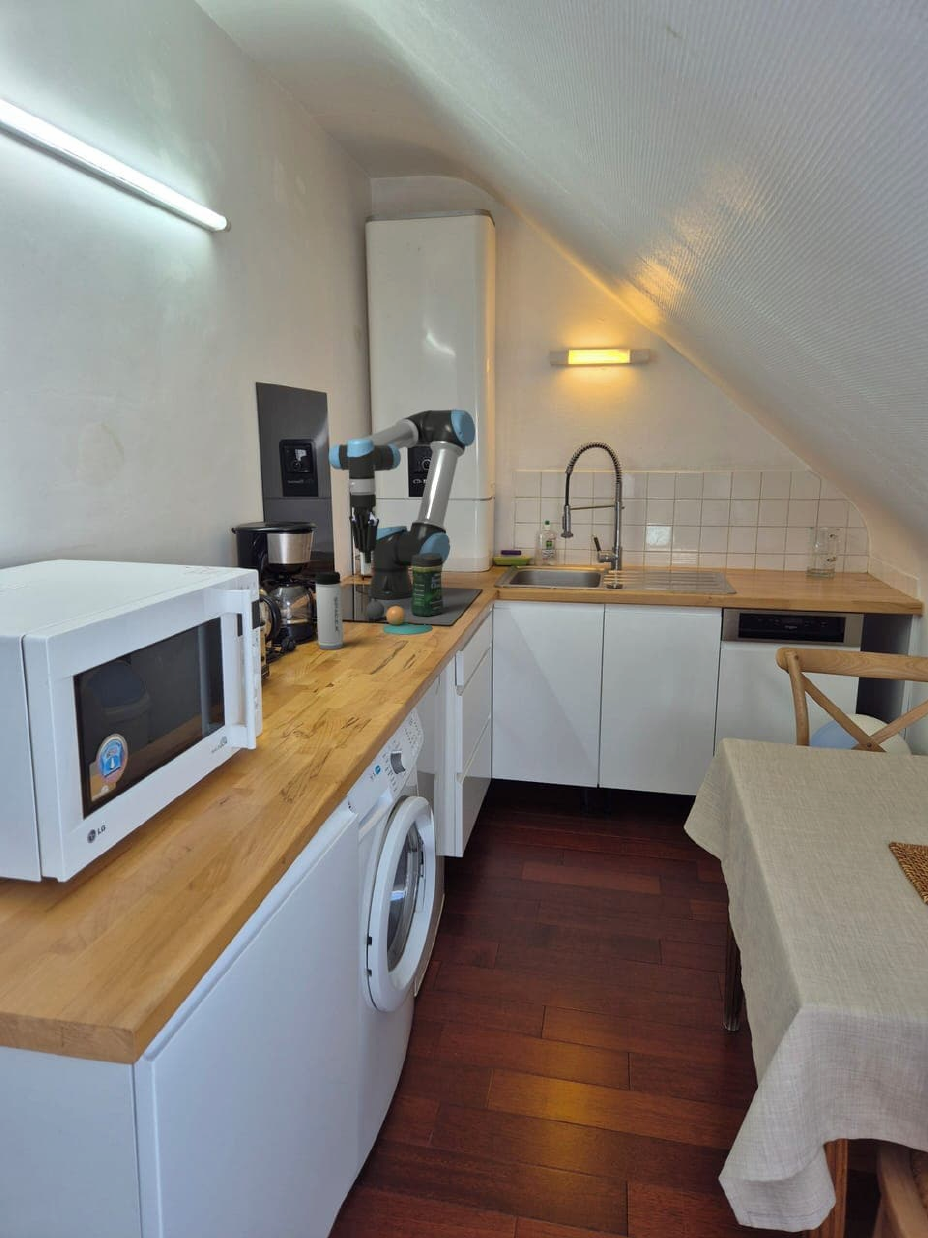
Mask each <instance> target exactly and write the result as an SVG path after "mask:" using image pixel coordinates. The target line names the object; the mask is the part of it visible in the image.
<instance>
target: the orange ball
mask: <svg viewBox="0 0 928 1238" xmlns="http://www.w3.org/2000/svg"><path fill="white" fill-rule="evenodd" d="M385 616H386V621H387V622H388V623H389V624H392V625H400V624H402V623H403V622H405V620H406V617H407V615H406V611H405V609H404V608H403V607H401V606H398V605H394V606H391V607H389V609H387V612H386V615H385Z"/></svg>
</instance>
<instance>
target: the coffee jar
mask: <svg viewBox="0 0 928 1238" xmlns="http://www.w3.org/2000/svg"><path fill="white" fill-rule="evenodd" d="M443 566H444V564H443V562H442V556H441V555H440V554H438V553H423V554H418V555H414V556H413V557H412V560H411V566H410V567H411V568H410V569H411V572H412V586H413V588H412V596H411V608H410V609H411V612H410V613H411V614H412V615H414V614H415V615H414V616H416V615H419V616H418V617H424V616H425V617H431V615H433V616H436V615H440V614H442V613H443V612H444V604H443V603H444V602H443V601H444V600H443V591H442V590H443V589H442V573H443V572H442V571H443Z"/></svg>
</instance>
